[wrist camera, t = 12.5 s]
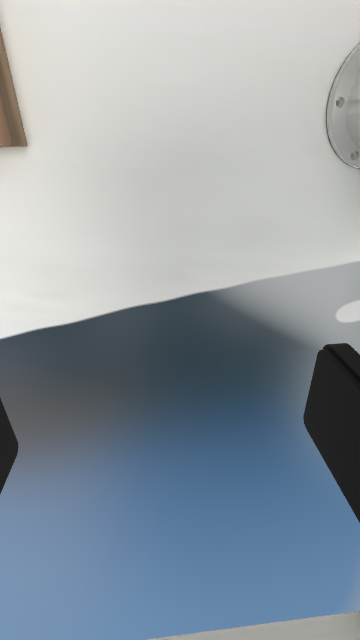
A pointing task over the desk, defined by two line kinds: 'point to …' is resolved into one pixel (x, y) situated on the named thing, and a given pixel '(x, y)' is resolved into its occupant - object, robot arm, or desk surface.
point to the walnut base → (9, 106)
